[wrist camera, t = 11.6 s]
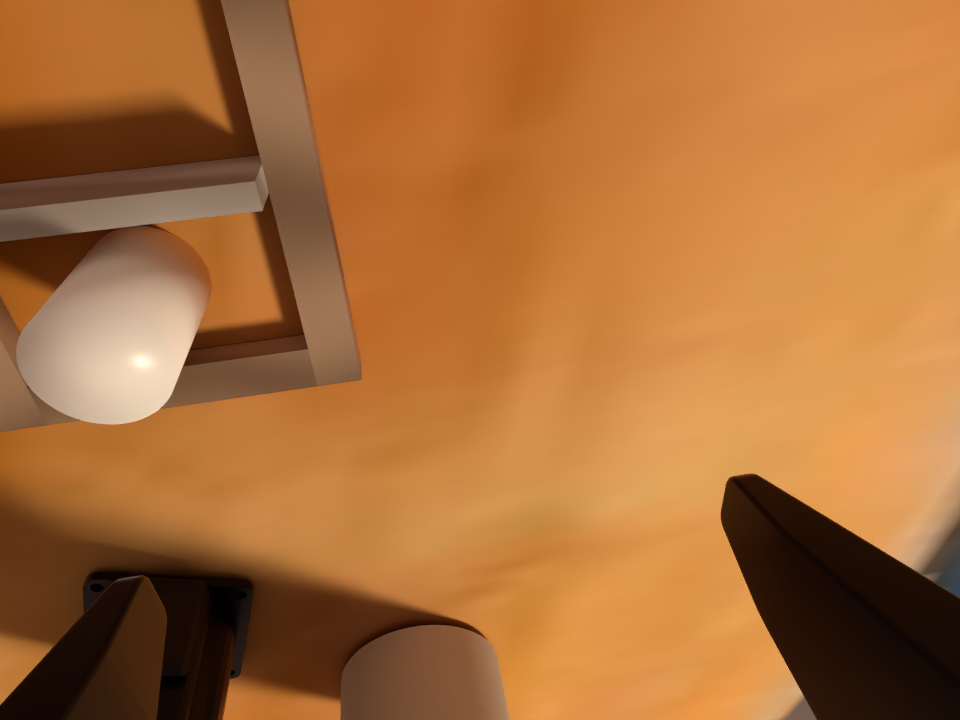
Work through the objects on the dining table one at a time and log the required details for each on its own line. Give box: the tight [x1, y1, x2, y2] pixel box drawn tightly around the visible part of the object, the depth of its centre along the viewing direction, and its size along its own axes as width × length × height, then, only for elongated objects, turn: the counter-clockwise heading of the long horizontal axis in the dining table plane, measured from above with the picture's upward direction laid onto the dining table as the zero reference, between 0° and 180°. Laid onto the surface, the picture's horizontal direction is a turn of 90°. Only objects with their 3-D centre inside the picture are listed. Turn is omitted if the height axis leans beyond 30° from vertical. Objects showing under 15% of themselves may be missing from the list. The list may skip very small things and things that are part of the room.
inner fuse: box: [16, 226, 212, 424], centre depth 19 cm, size 4×4×5 cm
